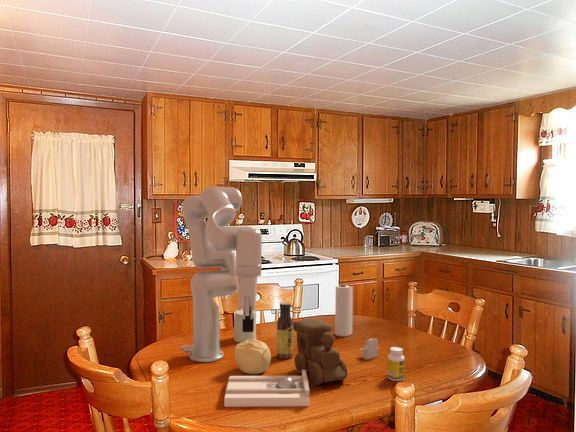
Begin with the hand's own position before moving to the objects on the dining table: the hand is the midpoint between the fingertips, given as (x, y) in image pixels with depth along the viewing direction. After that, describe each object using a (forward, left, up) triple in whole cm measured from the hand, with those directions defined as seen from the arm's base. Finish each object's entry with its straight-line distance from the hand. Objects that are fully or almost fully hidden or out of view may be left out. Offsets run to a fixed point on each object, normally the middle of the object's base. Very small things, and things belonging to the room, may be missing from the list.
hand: (248, 331), depth 137 cm
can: (-4, +54, -19) cm, 57 cm away
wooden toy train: (+23, +14, -19) cm, 33 cm away
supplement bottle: (+48, +12, -19) cm, 53 cm away
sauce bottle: (+12, +33, -19) cm, 40 cm away
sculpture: (+1, +19, -19) cm, 27 cm away
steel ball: (+12, 0, -17) cm, 20 cm away
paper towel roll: (+38, +60, -19) cm, 73 cm away
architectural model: (+44, +31, -20) cm, 57 cm away
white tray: (+6, 0, -19) cm, 20 cm away
